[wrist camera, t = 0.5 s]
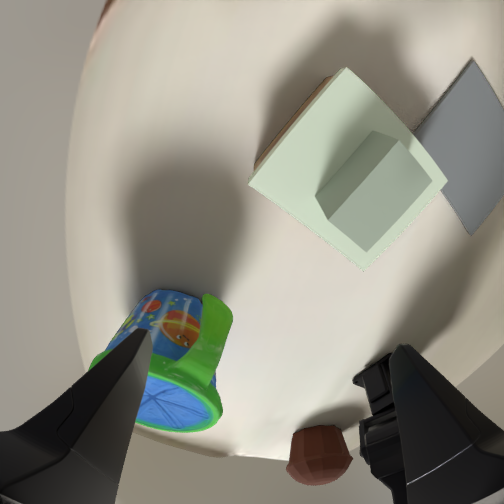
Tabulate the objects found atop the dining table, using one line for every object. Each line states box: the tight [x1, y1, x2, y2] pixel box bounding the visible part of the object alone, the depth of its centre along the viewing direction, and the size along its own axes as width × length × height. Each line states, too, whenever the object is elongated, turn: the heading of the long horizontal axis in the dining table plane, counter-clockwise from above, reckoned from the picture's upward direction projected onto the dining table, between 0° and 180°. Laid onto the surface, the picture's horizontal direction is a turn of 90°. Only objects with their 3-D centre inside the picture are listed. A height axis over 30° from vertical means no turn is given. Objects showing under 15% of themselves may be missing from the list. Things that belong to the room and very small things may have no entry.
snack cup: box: [88, 289, 233, 433], centre depth 22 cm, size 16×10×10 cm
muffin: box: [286, 425, 353, 485], centre depth 37 cm, size 12×11×10 cm
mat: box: [413, 61, 504, 236], centre depth 17 cm, size 12×11×1 cm
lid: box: [248, 67, 448, 272], centre depth 14 cm, size 9×8×4 cm
